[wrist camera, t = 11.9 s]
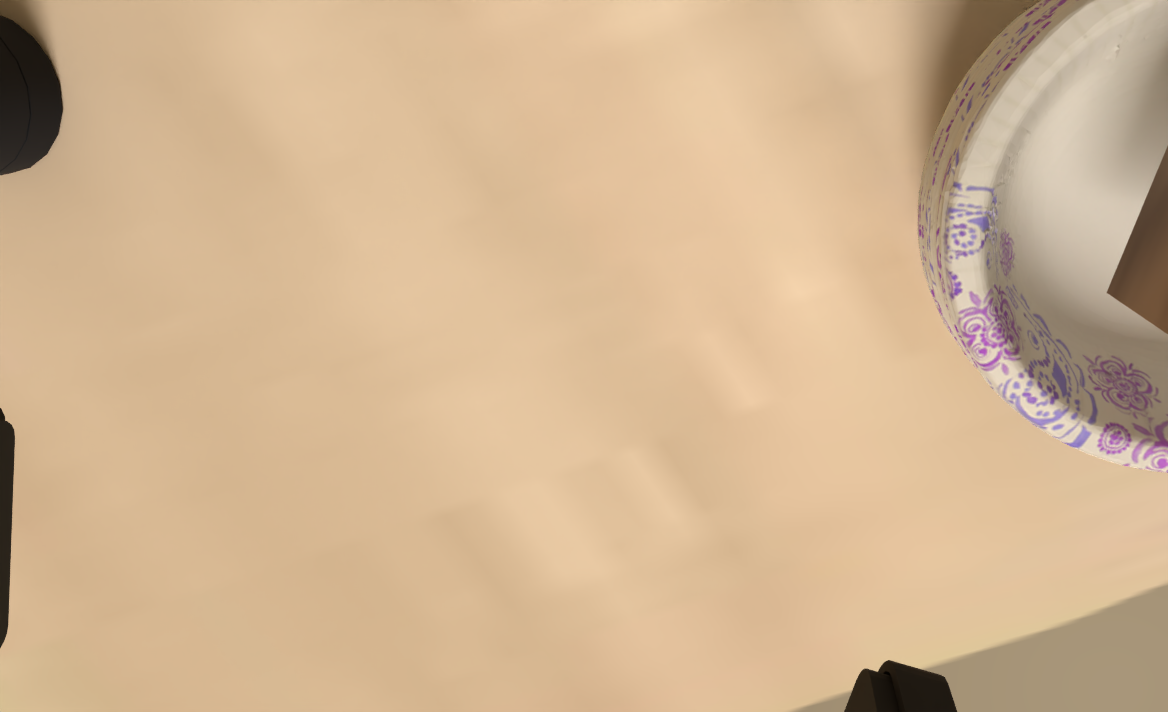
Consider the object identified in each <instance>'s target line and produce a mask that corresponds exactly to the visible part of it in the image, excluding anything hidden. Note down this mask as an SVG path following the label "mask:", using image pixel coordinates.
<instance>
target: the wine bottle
mask: <svg viewBox="0 0 1168 712" xmlns="http://www.w3.org/2000/svg"><path fill="white" fill-rule="evenodd" d="M61 116H62V103H61V93H60V85H59V83H58V80H57V77H56V75H55V72H54V70H53V67H52V65H51V62H50V60H49V58H48V57H47V56H46V54H45V53H44V51H43V50H42V49H41V47H40V46H39V45H38V43H37V42H36V40H35V39H34V38H33V37H32V36H31V35H30V34H28V33H27V32H26V31H25V30H23V29H22V28H21V27H20V26H19V25H17V24H16V23H15V22H14V21H12V20H10V19H7V18H5V17H2V16H0V175H4V174H9V173H13V172H16V171H20V170H23V169H27V168H30V167H31V166H33V165H34V164H35V163H36V162H38V161H39V160H40V159H42V158H43V157H44V156H45V155H47V153H48V151H49V150H50V148H51V146H52V144H53V143H54V141H55V139H56V137H57V136H58V132H59V127H60V122H61Z"/></svg>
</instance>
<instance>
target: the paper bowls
mask: <svg viewBox="0 0 1168 712" xmlns="http://www.w3.org/2000/svg"><path fill="white" fill-rule="evenodd" d="M1167 146H1168V0H1041V1H1039V2H1038V3H1037V4H1035V5H1034V6H1032V7H1031V8H1029V9H1028V10H1026V11H1025V12H1023V13H1022V14H1021V15H1019V16H1018V17H1017V18H1015V19H1014V20H1013V21H1012V22H1011V23H1010V24H1009V25H1008V26H1007V27H1006V28H1005V29H1004V30H1003V31H1002V32H1001V33H1000V34H999V35H998V36H997V37H996V38H995V39H994V40H993V41H992V42H991V44H990V45H989V46H988V47H987V48H986V50H985V51H984V52H983V53H982V54H981V55H980V57H979V58H978V59H977V60H976V61H975V63H974V64H973V65H972V67H971V68H970V69H969V71H968V72H967V74H966V75H965V77H964V78H963V80H962V81H961V83H960V84H959V86H958V87H957V89H956V91H955V93H954V94H953V96H952V98H951V99H950V101H949V103H948V106H947V108H946V110H945V112H944V115H943V117H942V119H941V121H940V123H939V125H938V127H937V129H936V132H935V134H934V137H933V140H932V142H931V145H930V148H929V151H928V155H927V158H926V161H925V165H924V168H923V172H922V179H921V186H920V190H919V199H918V240H919V248H920V256H921V260H922V265H923V270H924V274H925V278H926V281H927V284H928V287H929V290H930V292H931V294H932V297H933V299H934V302H935V304H936V306H937V309H938V311H939V313H940V316H941V318H942V320H943V322H944V324H945V326H946V327H947V329H948V331H949V332H950V334H951V335H952V337H953V339H954V340H955V341H956V342H957V344H958V345H959V346H960V348H961V349H962V350H963V352H964V354H965V355H966V357H967V358H968V359H969V361H970V362H971V363H972V364H973V365H974V366H975V367H976V369H977V370H978V371H979V372H980V374H981V375H982V377H983V378H984V379H985V381H986V382H987V383H988V384H989V386H990V387H991V388H992V389H993V390H994V391H995V392H996V393H997V394H998V395H999V396H1000V397H1001V398H1002V399H1003V400H1004V401H1005V402H1006V403H1007V404H1009V405H1010V406H1011V407H1012V408H1013V409H1014V410H1015V411H1017V412H1018V413H1019V414H1020V415H1021V416H1023V417H1024V418H1025V419H1026V420H1027V421H1029V422H1030V423H1032V424H1033V425H1035V426H1036V427H1038V428H1039V429H1041V430H1042V431H1044V432H1045V433H1047V434H1048V435H1050V436H1052V437H1053V438H1055V439H1057V440H1059V441H1061V442H1063V443H1065V444H1067V445H1069V446H1071V447H1072V448H1076V449H1077V450H1079V451H1082V452H1084V453H1087V454H1089V455H1092V456H1094V457H1097V458H1100V459H1102V460H1106V461H1109V462H1112V463H1115V464H1119V465H1122V466H1129V467H1131V468H1137V469H1144V470H1149V471H1155V472H1167V473H1168V334H1166V333H1165V332H1163V331H1162V330H1161V329H1159V328H1158V327H1156V326H1155V325H1153V324H1152V323H1150V322H1149V321H1147V320H1146V319H1144V318H1143V317H1141V316H1140V315H1139V314H1137V313H1136V312H1134V311H1133V310H1131V309H1130V308H1128V307H1127V306H1125V305H1124V304H1122V303H1121V302H1119V301H1118V300H1116V299H1115V298H1114V297H1112V296H1111V295H1109V294H1108V293H1107V290H1108V288H1109V285H1110V283H1111V281H1112V278H1113V276H1114V273H1115V271H1116V269H1117V266H1118V264H1119V261H1120V259H1121V257H1122V254H1123V252H1124V249H1125V247H1126V245H1127V242H1128V240H1129V237H1130V235H1131V233H1132V230H1133V228H1134V225H1135V223H1136V221H1137V218H1138V216H1139V213H1140V211H1141V209H1142V206H1143V204H1144V201H1145V199H1146V196H1147V194H1148V192H1149V189H1150V187H1151V184H1152V182H1153V180H1154V177H1155V175H1156V172H1157V170H1158V168H1159V165H1160V163H1161V160H1162V158H1163V156H1164V153H1165V151H1166V148H1167Z"/></svg>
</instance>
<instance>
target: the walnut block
mask: <svg viewBox="0 0 1168 712" xmlns="http://www.w3.org/2000/svg"><path fill="white" fill-rule="evenodd" d="M1107 293H1108V294H1109V295H1111V296H1112V297H1114V298H1115V299H1116V300H1118V301H1119V302H1121V303H1122V304H1124V305H1125V306H1127V307H1128V308H1130V309H1131V310H1133V311H1134V312H1136V313H1137V314H1139V315H1140V316H1141V317H1143V318H1144V319H1146V320H1147V321H1149V322H1150V323H1152V324H1153V325H1155V326H1156V327H1158V328H1159V329H1161V330H1162V331H1163V332H1165V333H1166V334H1168V146H1167V148H1166V151H1165V153H1164V156H1163V158H1162V160H1161V163H1160V165H1159V168H1158V170H1157V172H1156V175H1155V177H1154V180H1153V182H1152V184H1151V187H1150V189H1149V192H1148V194H1147V196H1146V199H1145V201H1144V204H1143V206H1142V209H1141V211H1140V213H1139V216H1138V218H1137V221H1136V223H1135V225H1134V228H1133V230H1132V233H1131V235H1130V237H1129V240H1128V242H1127V245H1126V247H1125V249H1124V252H1123V254H1122V257H1121V259H1120V261H1119V264H1118V266H1117V269H1116V271H1115V273H1114V276H1113V278H1112V281H1111V283H1110V285H1109V288H1108V290H1107Z"/></svg>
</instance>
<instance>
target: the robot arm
mask: <svg viewBox="0 0 1168 712" xmlns="http://www.w3.org/2000/svg"><path fill="white" fill-rule="evenodd" d="M14 447H15V434H14V429H13V427H12V425H11V424H10V423H9V422H7V421H5V416H4V414H3V412H2V409H1V408H0V648H1V646H2V644H3V642H4V640H5V637H6V634H7V629H8V614H9V586H10V559H11V531H12V503H13V475H14ZM844 712H957V710H956V707H955V704H954V701H953V698H952V695H951V692H950V688H949V685H948V683H947V681H946V679H945V677H943V676H941V675H938V674H935V673H931V672H928V671H925V670H921V669H918V668H914V667H911V666H907V665H904V664H900V663H897V662H893V661H890V660H888V661H886V662H884V663H883V665H882V666H881V667H880V669H879V671H878V672H876V671H873V670H869V669H863V670H862V671H861V673H860V674H859V676H858V678H857V680H856V683H855V685H854V688H853V691H852V693H851V696H850V698H849V701H848V703H847V706H846V709H845V711H844Z"/></svg>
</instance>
